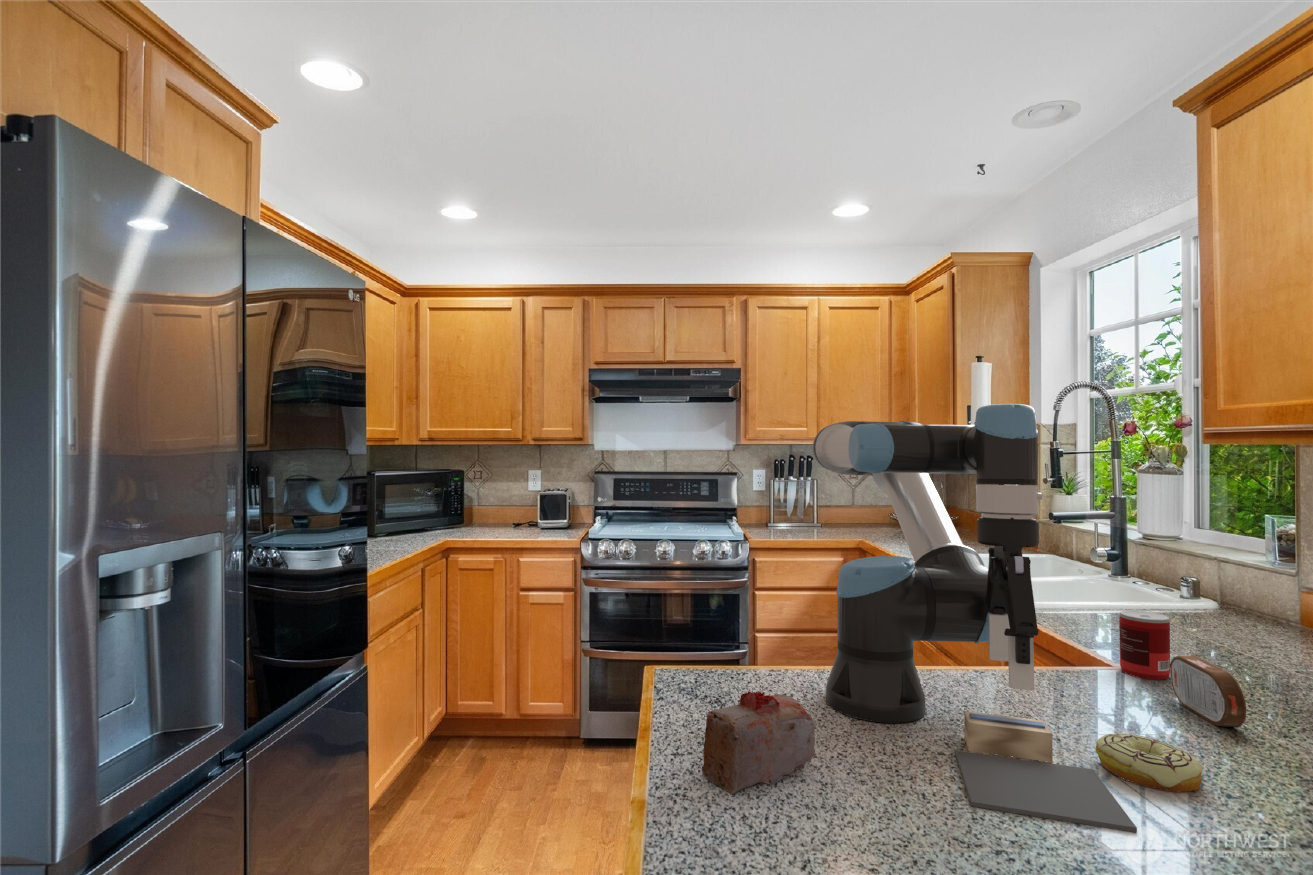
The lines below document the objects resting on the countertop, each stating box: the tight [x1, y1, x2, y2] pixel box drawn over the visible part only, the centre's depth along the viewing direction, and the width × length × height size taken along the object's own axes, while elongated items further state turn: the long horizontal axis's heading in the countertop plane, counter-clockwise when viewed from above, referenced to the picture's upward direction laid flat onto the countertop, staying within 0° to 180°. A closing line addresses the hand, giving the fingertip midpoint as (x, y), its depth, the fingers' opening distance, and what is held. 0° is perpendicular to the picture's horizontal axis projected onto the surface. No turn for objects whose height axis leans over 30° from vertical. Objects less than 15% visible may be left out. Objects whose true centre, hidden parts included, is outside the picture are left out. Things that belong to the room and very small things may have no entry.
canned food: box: [1118, 609, 1171, 681], centre depth 124 cm, size 8×8×11 cm
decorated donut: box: [1095, 732, 1204, 793], centre depth 83 cm, size 10×11×4 cm
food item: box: [701, 690, 816, 795], centre depth 82 cm, size 14×8×10 cm, turn 126°
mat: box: [954, 750, 1138, 833], centre depth 79 cm, size 16×14×1 cm
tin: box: [1170, 654, 1247, 728], centre depth 103 cm, size 15×3×8 cm, turn 168°
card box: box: [963, 710, 1054, 764], centre depth 89 cm, size 10×4×4 cm, turn 71°
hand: (1009, 673), depth 89 cm, fingers open, 13 cm apart
